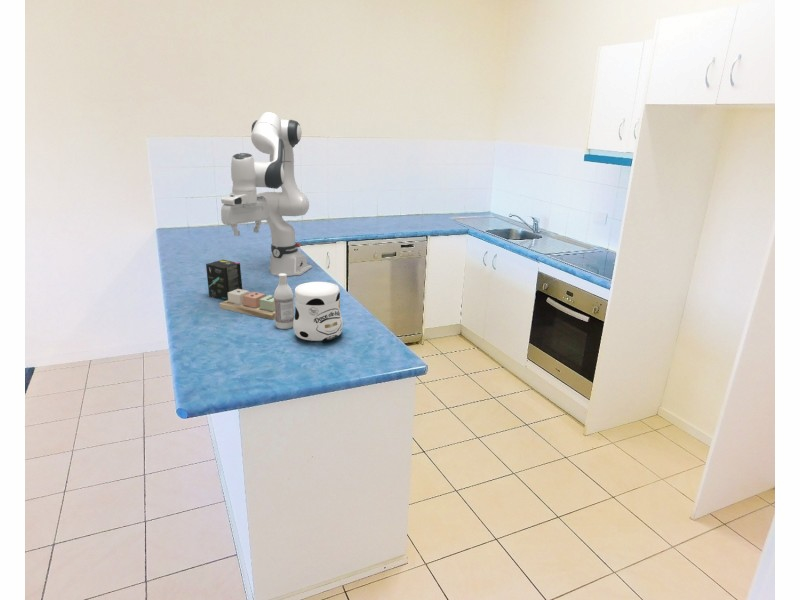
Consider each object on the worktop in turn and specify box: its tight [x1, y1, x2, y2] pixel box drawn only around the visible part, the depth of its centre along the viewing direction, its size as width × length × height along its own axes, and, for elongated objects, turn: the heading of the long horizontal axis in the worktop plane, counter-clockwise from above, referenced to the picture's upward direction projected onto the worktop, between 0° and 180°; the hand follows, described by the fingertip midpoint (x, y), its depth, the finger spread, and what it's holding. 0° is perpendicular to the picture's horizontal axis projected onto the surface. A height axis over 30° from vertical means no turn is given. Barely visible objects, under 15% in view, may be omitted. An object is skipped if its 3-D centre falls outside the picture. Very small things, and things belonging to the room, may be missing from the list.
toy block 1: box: [228, 288, 251, 305], centre depth 215 cm, size 6×6×4 cm
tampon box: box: [205, 259, 243, 302], centre depth 225 cm, size 11×9×15 cm
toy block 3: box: [259, 294, 275, 312], centre depth 209 cm, size 6×6×4 cm
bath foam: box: [273, 273, 295, 330], centre depth 195 cm, size 7×7×20 cm
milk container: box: [292, 281, 344, 343], centre depth 187 cm, size 17×17×18 cm
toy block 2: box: [243, 291, 266, 309], centre depth 212 cm, size 6×6×4 cm
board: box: [218, 300, 275, 321], centre depth 213 cm, size 12×26×2 cm, turn 65°
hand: (247, 233), depth 207 cm, fingers open, 8 cm apart
